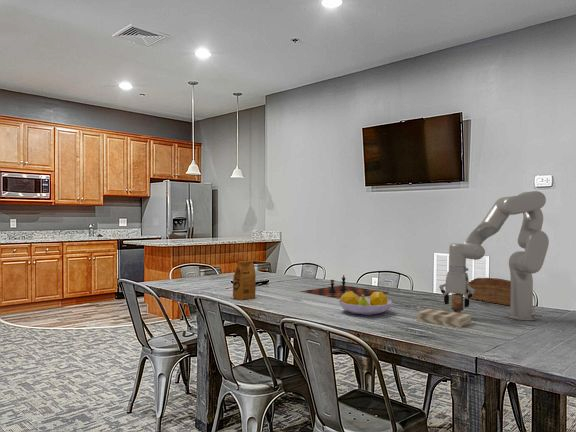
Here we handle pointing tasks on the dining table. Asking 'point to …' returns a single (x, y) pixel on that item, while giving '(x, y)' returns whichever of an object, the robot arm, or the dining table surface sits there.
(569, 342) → the dining table surface
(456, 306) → the peg
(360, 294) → the chessboard
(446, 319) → the board
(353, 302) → the fruit bowl
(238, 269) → the coffee package
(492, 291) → the bread
